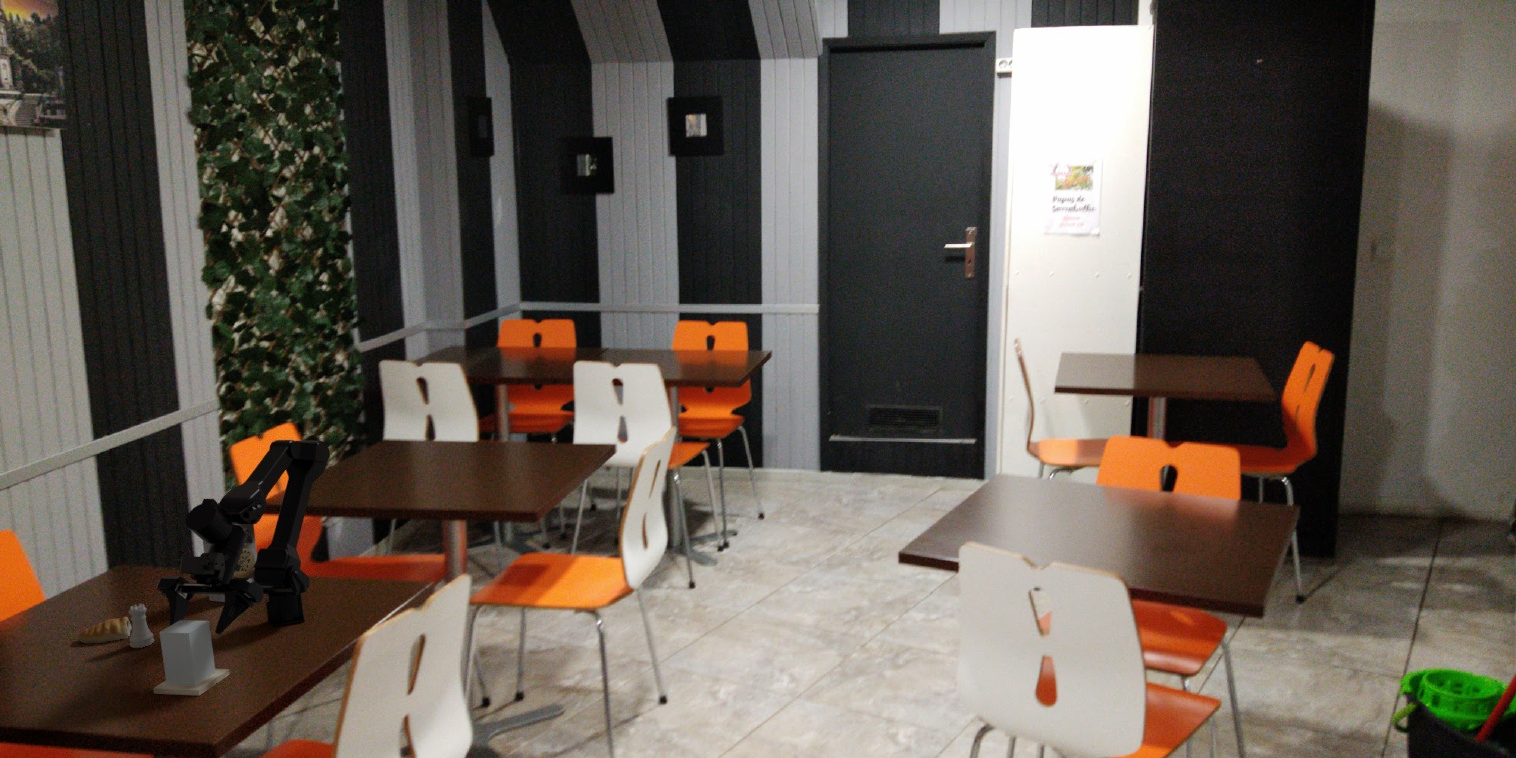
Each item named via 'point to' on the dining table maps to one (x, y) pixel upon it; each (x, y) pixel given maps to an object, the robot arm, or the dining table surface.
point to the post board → (192, 690)
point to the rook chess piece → (139, 628)
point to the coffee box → (240, 560)
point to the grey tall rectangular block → (187, 652)
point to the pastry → (106, 631)
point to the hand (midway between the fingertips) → (194, 632)
